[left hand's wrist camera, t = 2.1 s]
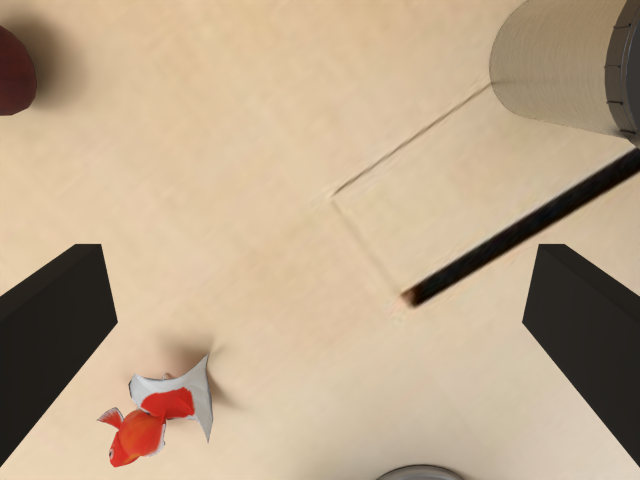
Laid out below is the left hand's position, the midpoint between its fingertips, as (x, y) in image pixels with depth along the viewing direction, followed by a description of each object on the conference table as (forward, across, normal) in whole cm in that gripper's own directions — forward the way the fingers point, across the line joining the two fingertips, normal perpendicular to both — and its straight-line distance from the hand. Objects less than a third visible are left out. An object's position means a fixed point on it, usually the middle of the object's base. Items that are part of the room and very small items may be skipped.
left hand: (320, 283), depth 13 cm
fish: (+28, +18, +28) cm, 44 cm away
